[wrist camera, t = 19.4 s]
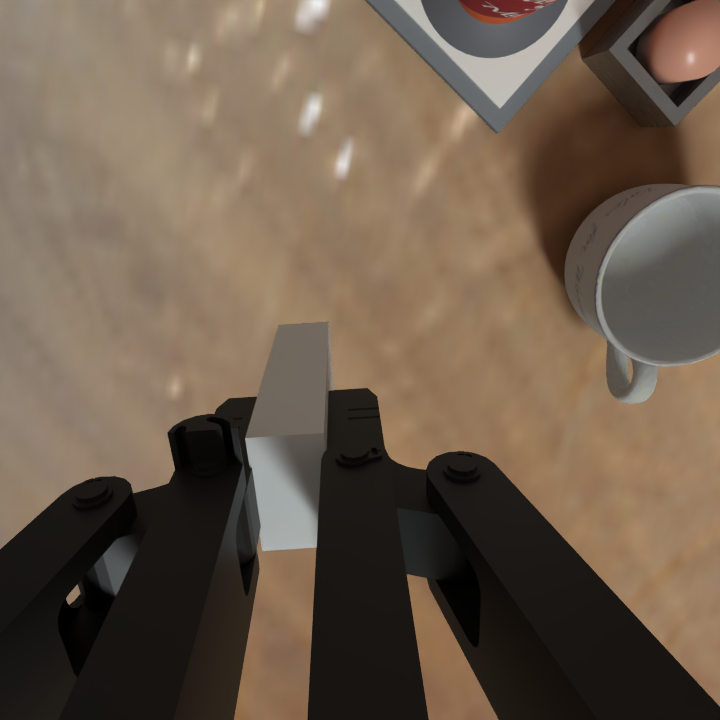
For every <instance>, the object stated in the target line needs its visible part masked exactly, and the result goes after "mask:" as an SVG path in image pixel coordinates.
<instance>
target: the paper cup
mask: <svg viewBox="0 0 720 720" xmlns="http://www.w3.org/2000/svg"><path fill="white" fill-rule="evenodd" d="M555 1H557V0H459V2H460V4H461V5H462V7H463V8H464V9H465V10H466V12H467V13H468V14H470V15H471V16H472V17H473V18H475V19H477V20H479V21H481V22H484V23H487V24H505V23H509V22H512V21H515V20H518V19H520V18H522V17H525V16H527V15H529V14H531V13H533V12H535V11H537V10H539V9H541V8H543V7H545V6H547V5H549V4H551V3H553V2H555Z"/></svg>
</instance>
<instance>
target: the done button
mask: <svg viewBox="0 0 720 720" xmlns="http://www.w3.org/2000/svg"><path fill="white" fill-rule="evenodd" d="M636 60H637V61H638V62H639V63H640V64H641V66H642V67H643V68H644V69H645V70H646V71H647V73H648V74H649V75H650V76H651V77H652V78H653V80H654V81H655V82H656V83H657V84H671V83H677V82H682V81H688V80H694V79H699V78H702V77H705V76H707V75H709V74H710V73H712V72H713V71H715V70H716V69H717V68H718V67H719V66H720V2H719V1H717V0H696V1H693V2H690V3H688V4H685V5H683V6H680V7H678V8H676V9H673V10H671V11H668V12H666V13H663V14H661V15H659V16H658V17H656V18H655V19H654V20H652V22H651V23H650V24H649V25H648V26H647V27H646V28H645V29H644V31H643V32H642V34H641V36H640V39H639V41H638V45H637V50H636Z"/></svg>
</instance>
